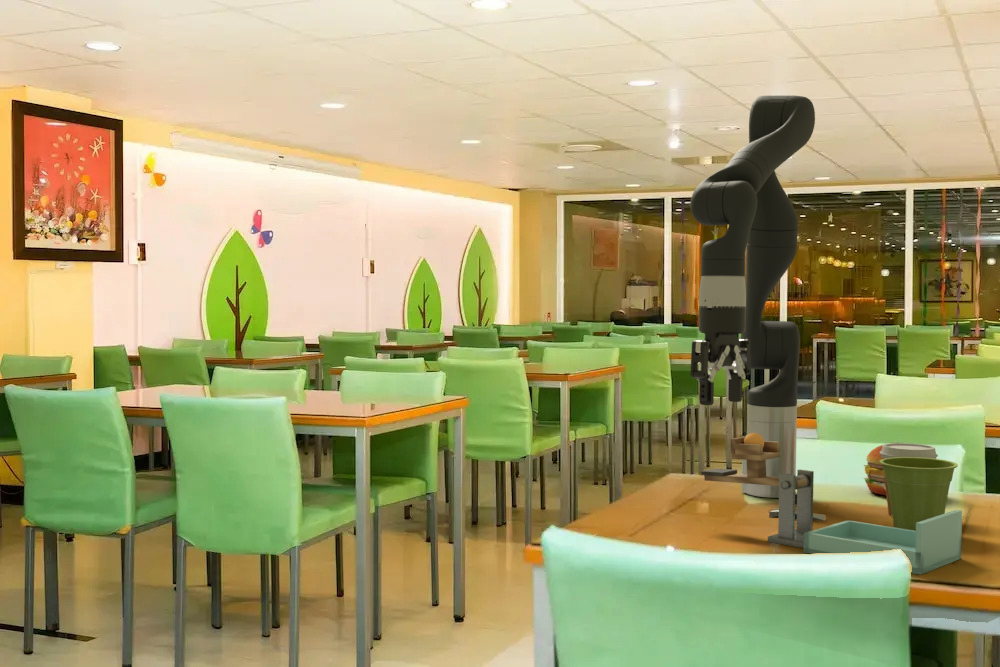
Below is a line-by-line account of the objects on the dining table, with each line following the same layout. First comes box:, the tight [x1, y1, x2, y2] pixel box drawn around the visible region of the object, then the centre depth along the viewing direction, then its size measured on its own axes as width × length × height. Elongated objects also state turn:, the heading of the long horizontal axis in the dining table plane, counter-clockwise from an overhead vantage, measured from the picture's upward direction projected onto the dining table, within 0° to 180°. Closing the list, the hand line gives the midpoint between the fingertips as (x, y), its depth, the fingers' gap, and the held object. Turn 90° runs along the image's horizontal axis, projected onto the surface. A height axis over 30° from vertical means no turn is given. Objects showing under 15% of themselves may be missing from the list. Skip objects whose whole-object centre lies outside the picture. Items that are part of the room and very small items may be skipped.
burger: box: [863, 442, 890, 497], centre depth 212 cm, size 14×14×10 cm
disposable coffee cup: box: [880, 442, 939, 515], centre depth 191 cm, size 10×10×12 cm
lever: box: [700, 436, 809, 491], centre depth 175 cm, size 17×6×8 cm, turn 45°
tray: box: [803, 509, 963, 576], centre depth 160 cm, size 18×14×7 cm
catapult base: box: [767, 469, 815, 549], centre depth 170 cm, size 6×8×11 cm
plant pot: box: [880, 457, 959, 531], centre depth 178 cm, size 12×12×11 cm
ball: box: [744, 433, 764, 447], centre depth 175 cm, size 3×3×3 cm
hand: (720, 403), depth 179 cm, fingers open, 8 cm apart
